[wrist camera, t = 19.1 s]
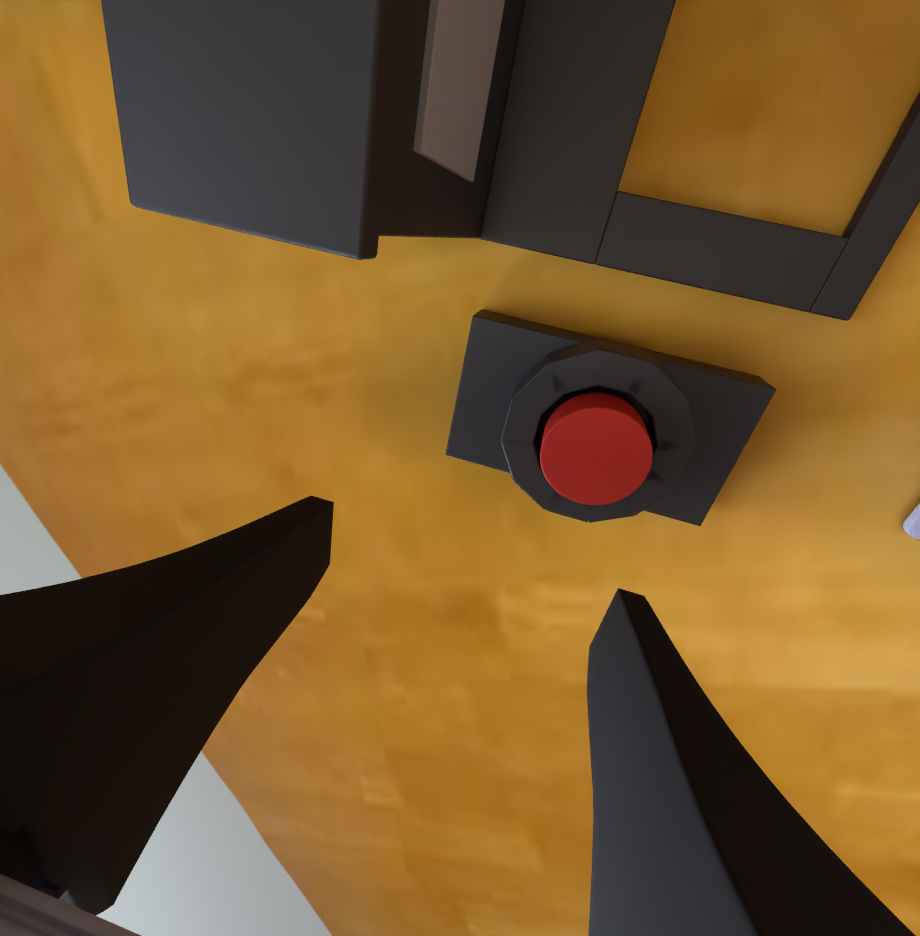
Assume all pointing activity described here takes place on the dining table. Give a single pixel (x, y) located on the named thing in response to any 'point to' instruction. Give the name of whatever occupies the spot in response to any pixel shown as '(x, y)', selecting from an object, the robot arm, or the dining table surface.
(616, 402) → the power button
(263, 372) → the dining table surface
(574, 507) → the control pad
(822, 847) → the robot arm
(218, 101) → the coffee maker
